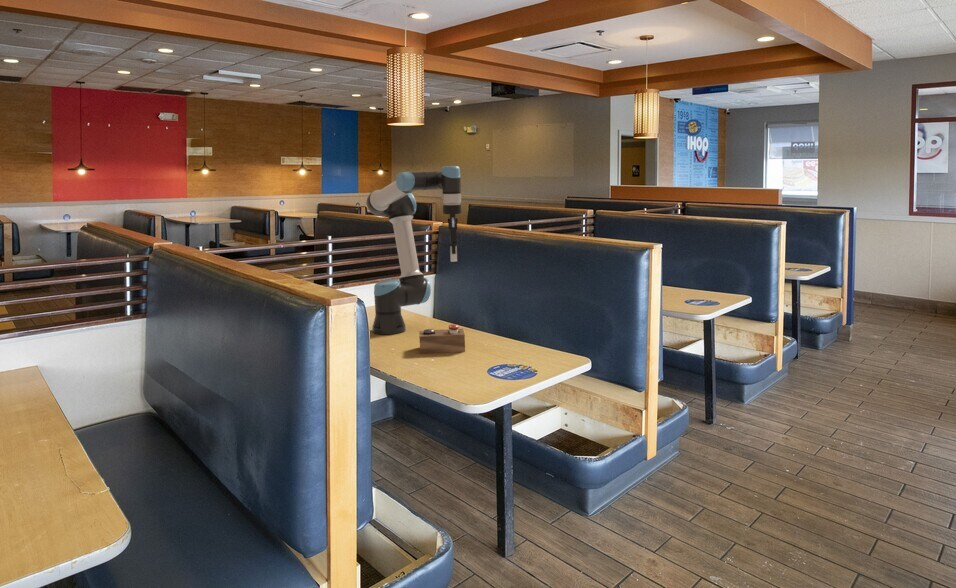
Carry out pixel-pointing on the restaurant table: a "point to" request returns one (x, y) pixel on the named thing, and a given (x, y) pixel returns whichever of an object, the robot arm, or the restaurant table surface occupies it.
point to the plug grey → (429, 331)
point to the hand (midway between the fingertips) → (453, 261)
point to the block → (442, 342)
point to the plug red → (453, 328)
